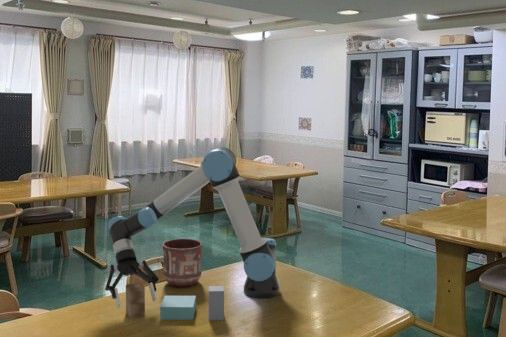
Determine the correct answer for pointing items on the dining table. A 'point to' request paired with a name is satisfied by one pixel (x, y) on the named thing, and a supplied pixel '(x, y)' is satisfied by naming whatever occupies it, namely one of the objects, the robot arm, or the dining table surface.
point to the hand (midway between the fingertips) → (137, 302)
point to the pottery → (182, 262)
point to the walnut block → (135, 300)
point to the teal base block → (178, 307)
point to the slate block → (216, 302)
